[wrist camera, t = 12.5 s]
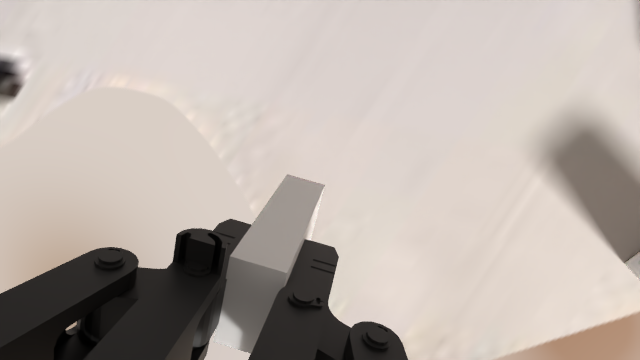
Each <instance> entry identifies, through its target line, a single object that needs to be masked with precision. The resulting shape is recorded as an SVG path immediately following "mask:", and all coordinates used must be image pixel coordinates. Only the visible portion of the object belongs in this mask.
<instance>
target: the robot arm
mask: <svg viewBox="0 0 640 360" xmlns="http://www.w3.org/2000/svg"><path fill="white" fill-rule="evenodd" d="M324 187H325V185H323V184H320V183H316V182H313V181H309V180H305V179H302V178H298V177H295V176H291V175H288V174H287V176H286V177H285V178H284V180H283V181H282V183H281V184H280V186H279V187H278V188H277V190H276V191H275V193H274V194H273V196H272V197H271V198H270V200H269V201H268V203H267V204H266V205H265V207H264V208H263V210H262V211H261V213H260V214H259V215H258V217H257V218H256V220H255V221H254V223H253V224H252V225H251V224H247V223H244V222H240V221H237V220H233V219H229V220H227V221H224V222H222V223H219V224H218V225H217V227H216V228H215V229H214V230H213V231H211V230H206V229H187V230H184V231H181V232H180V233H178V234H177V236H176V244H175V250H174V258H173V262H172V263H171V264H170V265H169V266H168V268H167V269H150V268H139V267H138V262H139V261H138V259H137V257H136V255H134V254H133V253H132V252H130V251H128V250H124V249H122V248H115V247H107V248H99V249H96V250H93V251H90V252H88V253H86V254H83V255H81V256H79V257H77V258H75V259H73V260H71V261H69V262H66V263H65V264H62V265H60V266H58V267H56V268H54V269H52V270H50V271H47V272H45V273H43V274H41V275H39V276H37V277H35V278H33V279H31V280H28V281H26V282H24V283H22V284H20V285H18V286H16V287H14V288H12V289H10V290H7V291H5V292H3V293H1V294H0V360H204V358H205V356H206V354H207V350H208V345H209V340H210V338H211V336H212V334H213V332H214V331H215V329H216V331H215V337H214V342H216V343H219V344H222V345H225V346H229V347H232V348H235V349H238V350H242V351H245V352H248V353H251V355H250V357H249V359H248V360H408V358H407V355H406V352H405V350H404V347H403V344H402V342H401V340H400V339H399V337H398V336H397V335H396V334H395V333H394V332H393V331H392V330H391V329H389V328H387V327H385V326H383V325H381V324H378V323H374V322H360V323H357V324H354V326H353V327H352V328H350V327H349V326H347V325H345V324H343V323H342V322H340V321H339V320H338V319H337V318H336V317H335V316H334V315H333V314H332V313H331V311H330V309H329V306H328V299H329V295H330V291H331V287H332V283H333V278H334V274H335V270H336V266H337V262H338V258H339V257H338V254H337V252H336V250H335V248H334V247H331V246H327V245H324V244H320V243H317V242H314V241H311V237H312V233H313V229H314V225H315V222H316V218H317V214H318V210H319V206H320V202H321V198H322V195H323V191H324ZM76 321H77V325H76V326H75V327H73V328H71V329H69V330H67V331H66V330H65V329H66V328H67V327H69V326H70V325H71V324H73V323H75V322H76Z"/></svg>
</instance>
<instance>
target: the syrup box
mask: <svg viewBox="0 0 640 360" xmlns="http://www.w3.org/2000/svg"><path fill="white" fill-rule="evenodd" d="M625 264H626V266H627V267H628V268H629V269H630V270H631V271H632V272H633V273H634V275H635V276H636V277H637V278H638V279H639V280H640V252H638V253H637V254H636V255H634V256H633V257H632V258H630V259H629V260H628V261H627V262H625Z"/></svg>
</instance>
